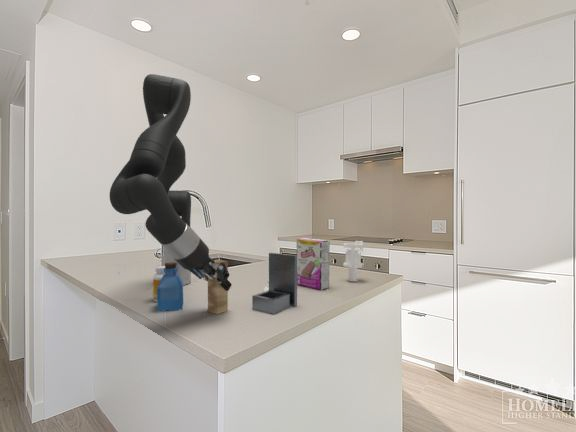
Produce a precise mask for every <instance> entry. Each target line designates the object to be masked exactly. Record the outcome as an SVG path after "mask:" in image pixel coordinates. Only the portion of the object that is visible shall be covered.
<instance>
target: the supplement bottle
mask: <svg viewBox="0 0 576 432" xmlns="http://www.w3.org/2000/svg"><path fill="white" fill-rule="evenodd" d="M164 268H165V266H162V265H160V266H159V265H158V266H156V267H155V272H156V274H154V275H153V277H152V279H153V282H152V284H153V286H152V289H153V291H152V292H153V293H152V294H153V295H152V296H153V301H154V302H157V288H158V285H159V283H160V281H161V279H162V277H163V275H165V272H164Z"/></svg>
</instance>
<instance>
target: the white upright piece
mask: <svg viewBox="0 0 576 432" xmlns="http://www.w3.org/2000/svg"><path fill="white" fill-rule="evenodd" d="M343 247H344V248H347V249H346V250H345V261H344V262H343V263H342V264H343V267H345V268H348V282H350V281H357V282H358V269H361V268H363V267H364V266H363V265H364V263H363V262H361V261H362V258H361V257H362V255H361V254H362V253H361V252H363V251H364V241H363V240H355V242H344V243H343Z"/></svg>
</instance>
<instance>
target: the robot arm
mask: <svg viewBox="0 0 576 432" xmlns="http://www.w3.org/2000/svg"><path fill="white" fill-rule="evenodd" d="M142 95H143V97H142V98H143V103H144V107H145V113H146V117H147V122H148V125H149V127H147V128H146V129H144V131H142V132H141V133H140V135H139V136H138V137H137V139H136V141H135V144H134V146H133V149H132V152H131V154H130V157H129V160H128V161H127V162H126V164H125V165H124V166H123V167H122V169H121V170H120V171H119V173H118V175H117V176H116V177H115V179H114V181H113V182H112V184H111V187H110V190H109V201H110V204H111V206H112V208H113V209H114V211H116V213H117V212H118V213H119V214H122V215H133V214H136V213H139V212H143V211H146V210H147V211H148V212H149V214H150V215H149V216H148V217H147V219H146V220H145V223H144V224H145V229H146V230H147V231H148V233H149V234H150V235H151V236H153V238H154V239H156V240H157V242H158V243H159V244H160V245H161V246H162V247H163V256H162V258H161V261H162V262H161V263H162V265H161V266H165V263H171V262H174V263H177V264H176V267H177V272H176V274H179V275H180V277H181V279H182V280H183V286H186V285H188V284H191V282H192V274H193V275H194V276H195V277H197V278H198V279H200V280H202V279H203V281H205V282H208V277H209V278H210V279H214V280H215V281H216V282H218V283H219V284H220V285H221V286H222V287H223V289H224V290H225V291H228V292H229V291H230V289H231V288H232V284H233V283H231V282H230V281H229V280H227V279H229V277H230V273H229V270H227V268H226V266H225V264H224V263H220V265H218V264H216V263H215V262H214V259H213V258H211V257H210V254H209V253H210V249H209V246H208V245H207V244H206V243H205V242H204V241H203V239H202V238H201V237H200V236H199V235H198V234H197V233H196V232H195V230H194V229H193V228H192V227H191V213H192V212H191V211H192V195H191V193H190V191H188V190H171V188H172V186H173V185H174V183H176V182H177V181H178V179H180V177H181V176H182V175H183V173H184V172H185V171H186V166H187V164H186V163H187V161H186V149H185V147H184V144H183V142H182V141H181V139H180V138H179V137H178V136H177V135H178V133H179V130H180V129H181V127H182V125H183V124H184V120H186V117H187V115H188V113H189V110H190V106H191V100H192V95H191V87H190V84H189V83H188V82H187V81H185V80H183V79H181V78H175V77H170V76H165V75H160V74H154V73H152V74H151V73H150V74H147V75H146V76H145V77H144V80H143V82H142ZM164 115H165V116H164ZM214 270H215V271H214ZM213 272H214V273H213ZM212 273H213V274H212ZM211 274H212V275H211ZM217 275H218V277H219V279H218V278H217Z"/></svg>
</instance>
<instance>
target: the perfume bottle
mask: <svg viewBox="0 0 576 432" xmlns="http://www.w3.org/2000/svg"><path fill="white" fill-rule="evenodd" d="M176 264H177V263H174V262H171V263H165V268H164V272H165V275H163V277H162V279H161V281H160V283H159V285H158V288H157V304H156V305H157V308H156V310H157V311H160V312H164V311H163V310H172V311H180V310H179V309H182V310H183V309H184V308H183V307H184V285H183V280H182V279H181V277H180V275H179V274H176V272H177V267H176Z"/></svg>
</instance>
